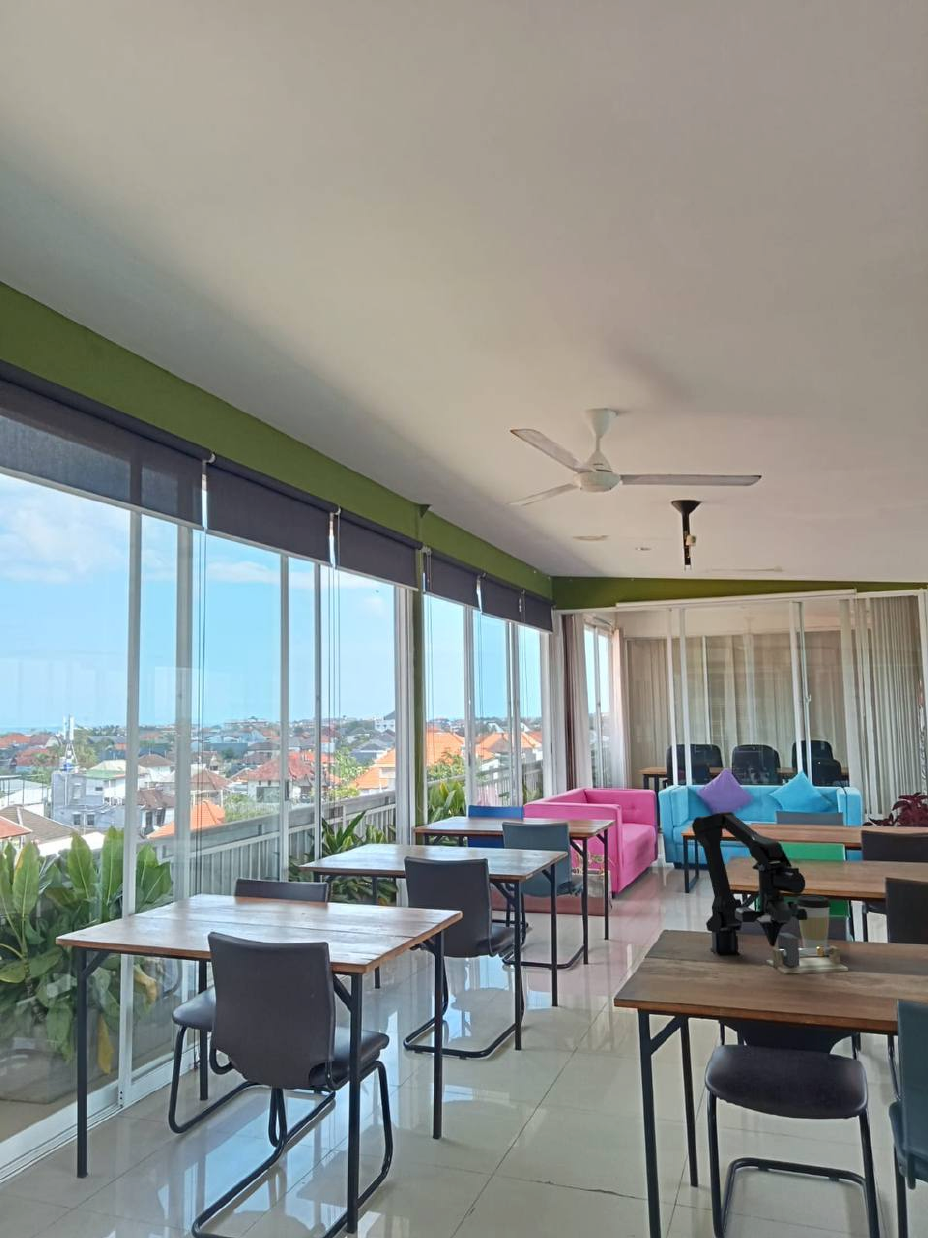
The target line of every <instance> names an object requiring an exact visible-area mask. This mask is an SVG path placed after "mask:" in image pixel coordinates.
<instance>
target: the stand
mask: <svg viewBox="0 0 928 1238" xmlns="http://www.w3.org/2000/svg"><path fill="white" fill-rule="evenodd" d="M828 947H832V948H833V951H834V954H833V955H828V956H829V957H827V956H823V957H822V956H819V957H803V958H800V957H799V965H800V966H791V967H789V966H787V965H786V964H784V963H783V961H782V951H781V950H780V949H778V947H773V948H771V949H772V950H771V951H772V952H771V953H772V959H766V964H767V965H770V966H771V967H773V968H774V969H776V970H778V971H779V972H780V973H783V974H784V973H799V974H816V973H836V972H837V973H839V972H848V971H849V968H848V967H847V966H845V965H843V964H841V956H840V948H839V947H837V946H836V945H828ZM773 950H775V951H776V954H777V955H776V957H774V955H775V952H774V951H773Z"/></svg>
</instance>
